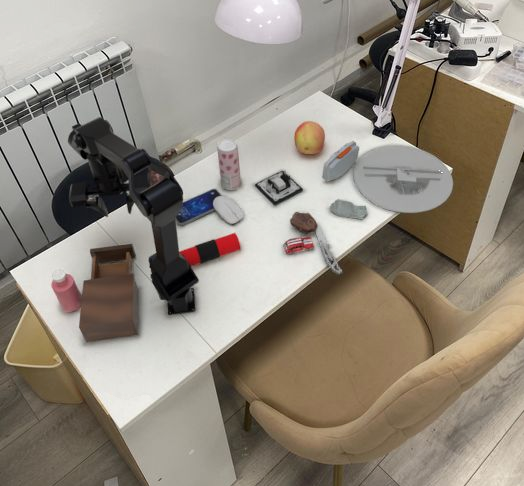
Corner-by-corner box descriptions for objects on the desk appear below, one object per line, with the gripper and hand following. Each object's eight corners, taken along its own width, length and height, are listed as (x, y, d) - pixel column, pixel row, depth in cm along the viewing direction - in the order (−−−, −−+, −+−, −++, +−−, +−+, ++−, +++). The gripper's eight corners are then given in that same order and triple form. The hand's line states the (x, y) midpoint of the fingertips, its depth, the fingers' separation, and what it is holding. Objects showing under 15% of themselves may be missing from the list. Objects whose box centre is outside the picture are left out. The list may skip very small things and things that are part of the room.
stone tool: (332, 198, 154) (327, 214, 152) (332, 196, 152) (327, 212, 151) (369, 208, 152) (364, 224, 150) (369, 205, 150) (365, 221, 148)
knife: (321, 219, 148) (310, 221, 147) (343, 271, 136) (331, 273, 135) (320, 223, 149) (310, 225, 148) (342, 275, 137) (330, 277, 136)
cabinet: (90, 296, 134) (83, 280, 130) (138, 289, 135) (133, 273, 131) (86, 342, 125) (78, 327, 121) (138, 335, 126) (132, 319, 122)
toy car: (314, 249, 143) (316, 242, 140) (285, 256, 141) (285, 249, 139) (310, 238, 145) (311, 231, 142) (281, 245, 143) (281, 238, 141)
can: (160, 219, 151) (148, 180, 142) (157, 204, 156) (145, 165, 146) (181, 213, 152) (171, 175, 142) (178, 198, 156) (168, 160, 147)
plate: (448, 149, 168) (449, 146, 167) (456, 217, 148) (457, 214, 148) (355, 143, 172) (355, 139, 171) (351, 208, 152) (351, 205, 151)
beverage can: (244, 184, 160) (241, 145, 149) (229, 194, 158) (225, 154, 147) (232, 174, 163) (229, 135, 153) (217, 183, 161) (212, 143, 150)
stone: (298, 215, 151) (296, 207, 149) (323, 220, 148) (321, 212, 146) (288, 232, 147) (286, 224, 145) (313, 237, 144) (311, 229, 142)
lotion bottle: (82, 310, 132) (68, 282, 123) (60, 313, 131) (45, 285, 123) (83, 293, 135) (71, 264, 127) (63, 295, 135) (48, 267, 126)
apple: (284, 142, 164) (291, 121, 170) (300, 164, 169) (307, 142, 175) (312, 133, 159) (318, 111, 165) (328, 156, 164) (333, 134, 170)
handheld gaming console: (351, 157, 167) (353, 136, 161) (359, 161, 165) (361, 141, 160) (320, 182, 160) (322, 161, 154) (328, 187, 158) (330, 166, 152)
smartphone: (228, 203, 154) (179, 225, 148) (228, 205, 154) (179, 227, 149) (215, 187, 158) (167, 208, 153) (215, 189, 159) (168, 210, 153)
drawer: (95, 256, 142) (90, 245, 138) (136, 251, 143) (132, 239, 139) (91, 298, 133) (86, 286, 129) (135, 292, 134) (131, 280, 130)
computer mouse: (230, 228, 148) (229, 221, 146) (208, 206, 154) (207, 199, 152) (247, 217, 151) (247, 210, 149) (225, 196, 156) (225, 189, 154)
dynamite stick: (241, 253, 141) (166, 280, 137) (235, 242, 145) (161, 268, 140) (239, 239, 139) (162, 265, 134) (233, 228, 142) (157, 253, 138)
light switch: (254, 185, 160) (274, 205, 154) (253, 175, 157) (274, 195, 151) (282, 171, 164) (303, 190, 158) (282, 161, 161) (303, 180, 155)
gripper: (145, 140, 132) (156, 186, 143) (65, 149, 131) (82, 195, 142) (145, 172, 124) (156, 218, 135) (60, 182, 123) (79, 228, 134)
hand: (118, 214), depth 137 cm, fingers open, 5 cm apart
